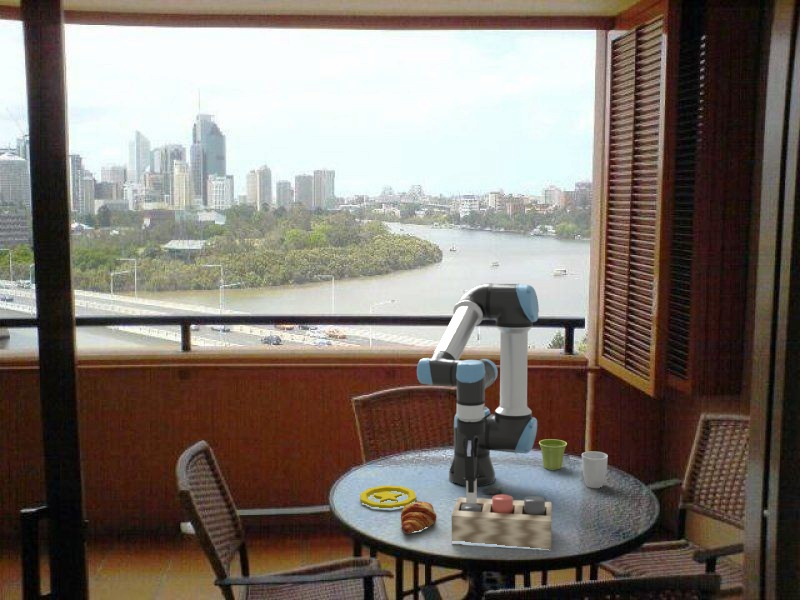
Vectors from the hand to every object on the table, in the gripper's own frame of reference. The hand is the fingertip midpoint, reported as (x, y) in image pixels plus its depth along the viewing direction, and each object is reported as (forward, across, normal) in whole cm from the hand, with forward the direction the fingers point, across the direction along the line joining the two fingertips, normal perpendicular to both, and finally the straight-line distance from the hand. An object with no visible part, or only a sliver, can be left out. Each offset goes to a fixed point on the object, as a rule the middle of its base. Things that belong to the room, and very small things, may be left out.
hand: (471, 502), depth 224 cm
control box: (+9, 0, -8) cm, 12 cm away
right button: (+3, 0, -17) cm, 17 cm away
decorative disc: (+10, +22, +28) cm, 37 cm away
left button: (+6, 0, 0) cm, 6 cm away
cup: (+10, +45, -35) cm, 58 cm away
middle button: (+3, 0, -8) cm, 9 cm away
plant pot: (+10, +62, -22) cm, 66 cm away
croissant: (+10, +5, +15) cm, 19 cm away
